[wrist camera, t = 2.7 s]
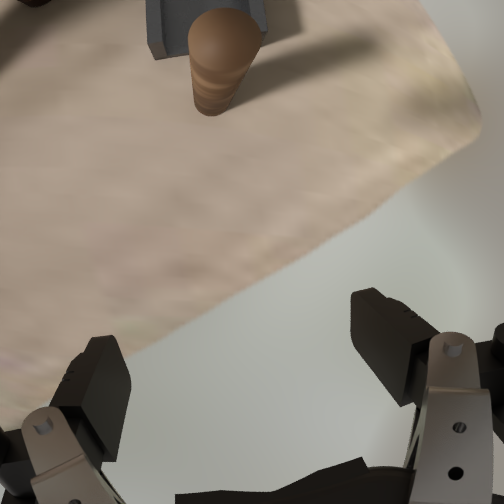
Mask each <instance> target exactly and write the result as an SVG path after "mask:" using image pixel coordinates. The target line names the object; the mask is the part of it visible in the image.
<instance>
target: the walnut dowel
mask: <svg viewBox="0 0 504 504" xmlns="http://www.w3.org/2000/svg"><path fill="white" fill-rule="evenodd" d="M261 43H262V34H261V30H260V28H259V26H258V24H257V22H256V21H255V20H254V19H253V18H252V17H251V16H250V15H248V14H247V13H245V12H243V11H241V10H238V9H234V8H216V9H212V10H209V11H207V12H205V13H203V14H202V15H200V16H199V17H198V18H197V19H196V20H195V21H194V22H193V24H192V25H191V27H190V30H189V33H188V46H189V56H190V66H191V76H192V86H193V95H194V103H195V106H196V108H197V110H198V111H199V112H200V113H202V114H204V115H206V116H217V115H219V114H221V113H223V112H224V111H225V110H226V109H227V107H228V105H229V103H230V101H231V100H232V98H233V96H234V94H235V92H236V90H237V88H238V87H239V85H240V83H241V81H242V79H243V77H244V76H245V74H246V72H247V70H248V69H249V67H250V65H251V63H252V62H253V60H254V58H255V56H256V55H257V53H258V51H259V49H260V47H261Z"/></svg>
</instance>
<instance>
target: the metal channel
mask: <svg viewBox="0 0 504 504" xmlns="http://www.w3.org/2000/svg"><path fill="white" fill-rule="evenodd" d="M216 8H234V9H238V10H241V11H243V12H245V13H247V14H248V15H250V16H251V17H252V18H253V19H254V20H255V21H256V22H257V24H258V26H259V28H260V30H261V34H262V41H263V39H264V37H265V35H266V34H267V32H268V29H267V22H266V16H265V9H264V3H263V0H146V24H147V43H148V46H149V48H150V50H151V53H152V55H153V57H154V59H155V60H160V59H166V58H172V57H178V56H185V55H189V46H188V33H189V30H190V27H191V25H192V24H193V22H194V21H195V20H196V19H197V18H198V17H199V16H200V15H202V14H203V13H205V12H207V11H209V10H212V9H216Z"/></svg>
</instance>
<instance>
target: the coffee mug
mask: <svg viewBox="0 0 504 504" xmlns="http://www.w3.org/2000/svg"><path fill="white" fill-rule="evenodd" d="M18 1H20V2H22V3H24V4H26V5H28V6H30V7H39V6H42V5H44V4H46V3H48V2H49V1H51V0H18Z"/></svg>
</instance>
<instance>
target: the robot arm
mask: <svg viewBox="0 0 504 504" xmlns="http://www.w3.org/2000/svg"><path fill="white" fill-rule="evenodd" d="M350 332H351V339H352V342H353V345H354V347H355V349H356V350H357V351H358V353H359V354H360V355H361V357H362V358H363V359H364V361H365V362H366V363H367V364H368V366H369V367H370V368H371V369H372V371H373V372H374V373H375V375H376V376H377V377H378V379H379V380H380V381H381V383H382V384H383V385H384V386H385V388H386V389H387V390H388V392H389V393H390V394H391V396H392V397H393V398H394V400H395V401H396V402H397V404H398V405H399V406H400V407H402V406H405V405H407V404H410V403H412V402H414V403H415V405H416V409H415V413H414V418H413V424H412V429H411V435H410V439H409V444H408V449H407V454H406V458H405V461H404V465H403V468H401V467H392V466H378V467H367V466H366V464H365V462H364V460H363V458H362V457H359V458H356V459H354V460H351V461H348V462H345V463H341V464H338V465H336V466H332V467H329V468H325V469H322V470H318V471H316V472H314V473H312V474H310V475H308V476H306V477H305V478H302V479H300V480H298V481H296V482H294V483H292V484H290V485H287V486H285V487H283V488H281V489H279V490H276V491H272V492H243V491H225V490H219V491H210V492H200V493H188V494H175V504H504V496H501V495H497V494H493V493H492V487H493V431H494V432H495V433H496V435H497V436H498V437H499V438H500V439H501V441H502V442H503V443H504V323H502V324H500V325H498V326H497V327H496V328H495V332H494V336H493V340H490V341H485V342H479V343H474V341H473V340H472V339H470V337H468V336H466V335H464V334H462V333H458V332H443V333H440V332H438V331H437V330H436V329H435V328H434V327H433V326H431V325H430V324H429V323H428V322H426V321H425V320H424V319H423V318H421V317H420V316H418V315H417V314H416V313H415V312H414V311H411V309H410V308H409V307H407V306H406V305H405V304H404V303H402V302H400V301H397V300H395V299H392V298H386V297H385V296H384V295H382V294H381V293H380V292H379V291H378V290H377V289H375V288H373V287H372V288H368V289H364V290H359V291H356V292H353V293H352V294H351V329H350ZM130 392H131V378H130V374H129V371H128V369H127V366H126V364H125V361H124V359H123V356H122V353H121V351H120V348H119V346H118V343H117V340H116V338H115V337H114V336H113V335H108V336H99V337H92V338H91V339H90V341H89V343H88V345H87V347H86V349H85V351H84V353H80V354H79V355H78V356H77V357H76V358H75V359H74V360H72V361H71V363H70V365H69V367H68V369H67V370H66V374H64V376H63V378H62V382H60V384H59V386H58V388H57V390H56V392H55V394H54V396H53V398H52V400H51V402H50V404H49V407H42V408H39V409H37V410H35V411H33V412H32V413H30V414H29V415H28V416H27V417H26V418H25V420H24V421H23V423H22V427H21V429H16V430H12V431H6V432H4V431H3V429H2V428H1V427H0V483H1V484H2V486H3V487H4V488H5V492H4V496H3V498H2V502H1V504H126V503H125V502H124V500H123V499H122V498H121V496H120V495H119V494H118V492H117V491H116V490H115V488H114V487H113V485H112V484H111V483H110V481H109V480H108V478H107V477H106V476H105V474H104V473H103V471H102V470H101V466H102V462H116V459H117V454H118V449H119V443H120V439H121V433H122V429H123V424H124V419H125V415H126V410H127V406H128V401H129V397H130Z"/></svg>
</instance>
